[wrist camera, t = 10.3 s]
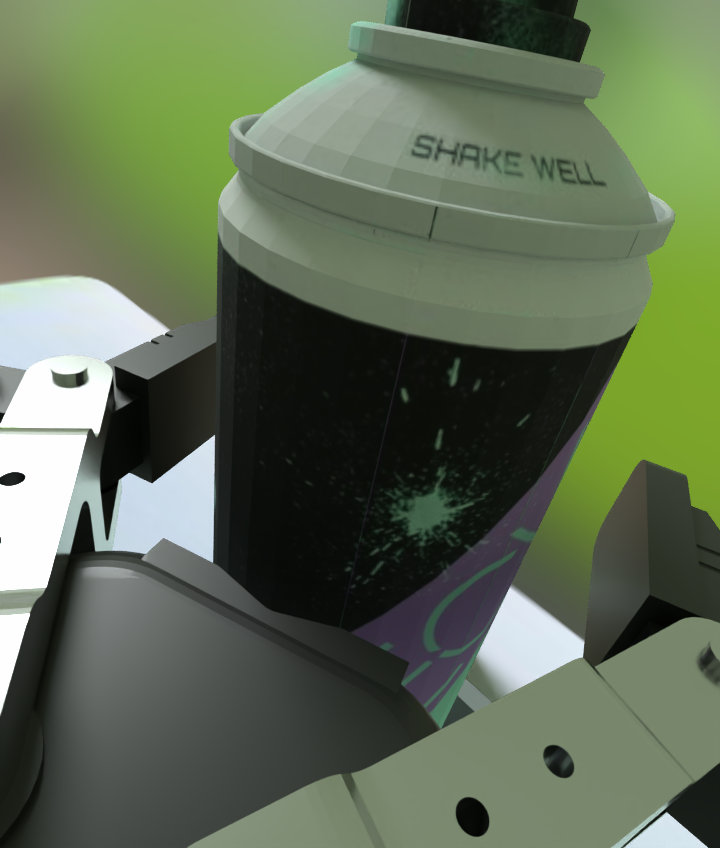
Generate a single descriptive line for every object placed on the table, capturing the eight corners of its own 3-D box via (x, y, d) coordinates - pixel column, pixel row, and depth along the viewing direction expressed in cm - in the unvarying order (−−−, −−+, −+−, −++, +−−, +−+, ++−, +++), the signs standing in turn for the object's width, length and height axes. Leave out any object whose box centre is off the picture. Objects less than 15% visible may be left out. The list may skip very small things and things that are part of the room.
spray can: (173, 778, 16) (105, -203, 5) (314, 669, 20) (458, -55, 9) (289, 966, 14) (723, -326, 2) (429, 799, 17) (876, -30, 6)
